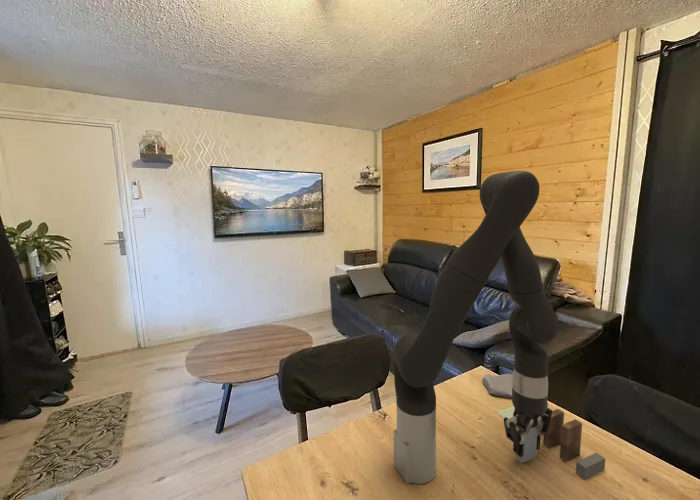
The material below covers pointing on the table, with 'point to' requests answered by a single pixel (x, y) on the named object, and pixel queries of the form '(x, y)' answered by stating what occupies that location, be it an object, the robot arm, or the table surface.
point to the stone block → (499, 385)
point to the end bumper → (590, 465)
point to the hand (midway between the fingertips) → (526, 450)
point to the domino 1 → (529, 445)
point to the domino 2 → (554, 430)
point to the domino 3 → (570, 440)
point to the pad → (507, 412)
